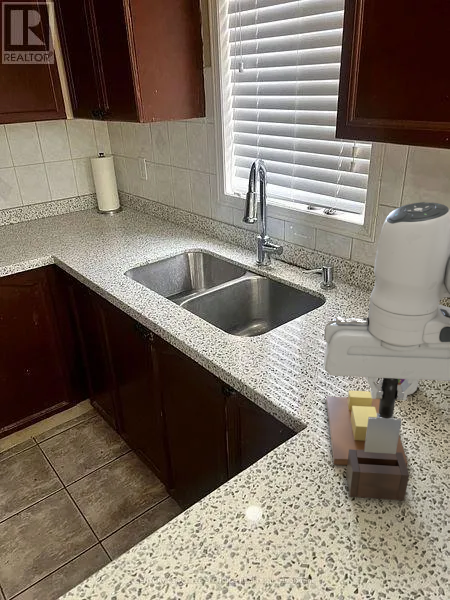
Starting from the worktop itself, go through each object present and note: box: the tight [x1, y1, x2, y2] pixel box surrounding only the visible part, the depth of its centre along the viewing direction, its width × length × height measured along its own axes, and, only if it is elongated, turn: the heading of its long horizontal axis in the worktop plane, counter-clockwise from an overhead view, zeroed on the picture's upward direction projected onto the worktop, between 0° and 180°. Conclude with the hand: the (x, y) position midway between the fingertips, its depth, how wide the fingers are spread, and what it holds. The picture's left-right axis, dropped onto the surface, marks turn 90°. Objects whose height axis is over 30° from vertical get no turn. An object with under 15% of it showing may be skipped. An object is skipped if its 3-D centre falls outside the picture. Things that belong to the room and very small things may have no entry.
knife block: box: [345, 449, 410, 502], centre depth 77 cm, size 9×5×6 cm, turn 83°
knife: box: [364, 378, 402, 454], centre depth 71 cm, size 5×2×16 cm, turn 83°
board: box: [325, 395, 409, 467], centre depth 90 cm, size 13×18×2 cm
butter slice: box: [347, 390, 372, 410], centre depth 94 cm, size 4×2×4 cm, turn 83°
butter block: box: [351, 406, 377, 441], centre depth 88 cm, size 4×6×4 cm
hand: (388, 397), depth 69 cm, fingers closed on knife, 2 cm apart
